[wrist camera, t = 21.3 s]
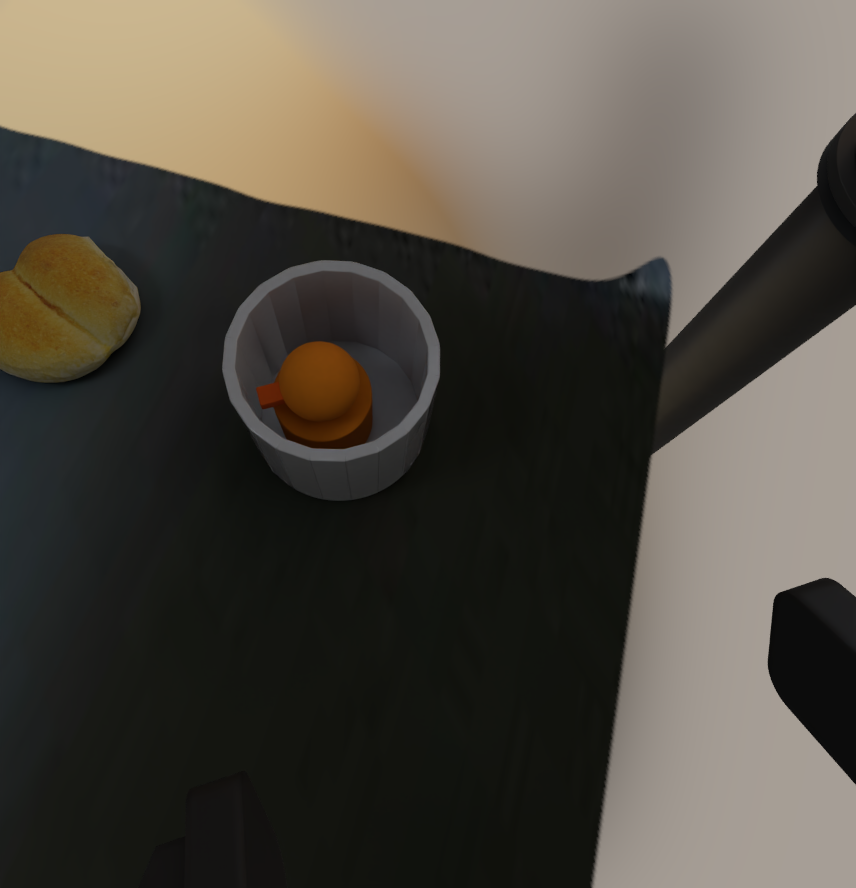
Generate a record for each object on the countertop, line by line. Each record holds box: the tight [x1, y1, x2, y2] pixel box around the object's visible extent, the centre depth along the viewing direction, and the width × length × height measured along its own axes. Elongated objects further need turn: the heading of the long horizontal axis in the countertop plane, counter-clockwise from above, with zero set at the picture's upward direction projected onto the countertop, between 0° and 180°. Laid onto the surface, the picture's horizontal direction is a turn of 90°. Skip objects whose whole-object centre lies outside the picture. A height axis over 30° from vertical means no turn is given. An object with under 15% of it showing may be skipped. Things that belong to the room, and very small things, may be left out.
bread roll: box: [0, 234, 141, 383], centre depth 42 cm, size 8×9×4 cm
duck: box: [256, 341, 373, 449], centre depth 39 cm, size 6×5×8 cm
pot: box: [222, 260, 440, 501], centre depth 40 cm, size 10×10×9 cm
